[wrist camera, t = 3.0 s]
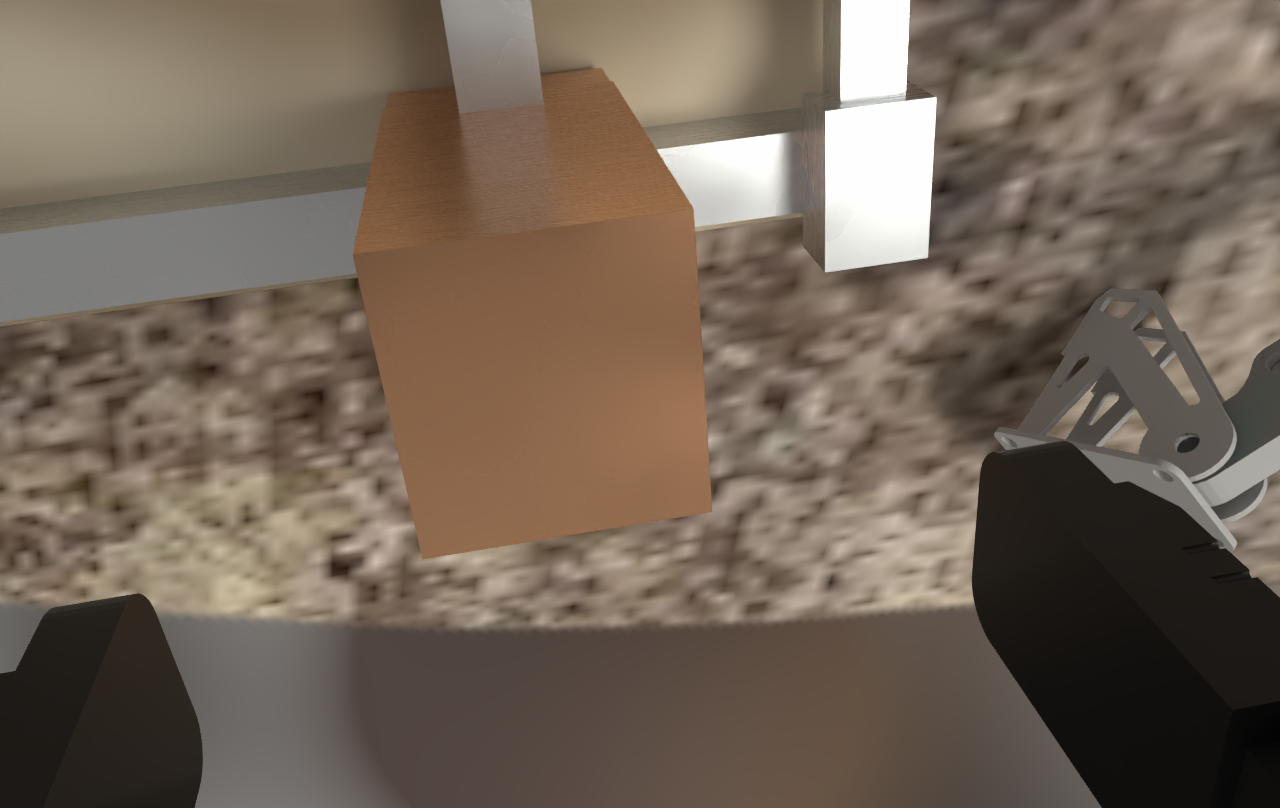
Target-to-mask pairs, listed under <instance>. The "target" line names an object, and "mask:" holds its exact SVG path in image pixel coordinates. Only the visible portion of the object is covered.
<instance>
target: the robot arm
mask: <svg viewBox="0 0 1280 808" xmlns="http://www.w3.org/2000/svg"><path fill="white" fill-rule="evenodd" d="M972 589H973V597H974V602H975V607H976V610H977V614H978V617H979V620H980V623H981V625H982V628H983V630H984V632H985V634H986V636H987V638H988V640H989V641H990V643H991V644H992V646H993V647H994V649H995V650H996V652H997V653H998V655H999V656H1000V658H1001V659H1002V661H1003V662H1004V663H1005V665H1006V667H1007V668H1008V669H1009V671H1010V672H1011V674H1012V675H1013V677H1014V678H1015V680H1016V681H1017V683H1018V684H1019V686H1020V687H1021V688H1022V690H1023V692H1024V693H1025V695H1026V696H1027V698H1028V699H1029V701H1030V702H1031V704H1032V705H1033V706H1034V708H1035V709H1036V711H1037V712H1038V714H1039V715H1040V717H1041V718H1042V720H1043V721H1044V723H1045V724H1046V726H1047V727H1048V728H1049V730H1050V732H1051V733H1052V734H1053V736H1054V737H1055V739H1056V740H1057V742H1058V743H1059V745H1060V746H1061V748H1062V749H1063V751H1064V752H1065V754H1066V755H1067V757H1068V758H1069V760H1070V761H1071V763H1072V764H1073V766H1074V767H1075V769H1076V770H1077V771H1078V773H1079V775H1080V776H1081V777H1082V779H1083V780H1084V782H1085V783H1086V785H1087V786H1088V788H1089V789H1090V791H1091V792H1092V794H1093V795H1094V797H1095V798H1096V799H1097V801H1098V803H1099V804H1100V806H1101V807H1102V808H1280V598H1279V597H1278V596H1277V595H1276V594H1275V593H1274V592H1273V591H1272V590H1271V589H1270V588H1269V587H1267V586H1266V585H1265V584H1264V583H1263V582H1262V581H1261V580H1260V579H1259V578H1258V577H1257V578H1251V576H1250V574H1249V569H1248V568H1247V567H1246V566H1245V565H1243V564H1242V563H1241V562H1240V561H1239V560H1238V559H1237V558H1236V557H1235V556H1234V555H1232V554H1231V553H1230V552H1229V551H1228V550H1227V549H1226V548H1224V549H1220V548H1219V546H1218V541H1217V540H1216V539H1215V538H1214V537H1213V536H1212V535H1211V534H1210V533H1208V532H1207V531H1206V530H1205V529H1204V528H1203V527H1202V526H1201V525H1200V524H1199V523H1198V522H1196V521H1195V520H1194V519H1193V518H1192V517H1191V516H1190V515H1189V514H1188V513H1187V512H1186V511H1184V510H1183V509H1182V508H1181V507H1180V506H1178V505H1176V504H1174V503H1172V502H1170V501H1168V500H1166V499H1164V498H1162V497H1160V496H1158V495H1156V494H1154V493H1152V492H1150V491H1148V490H1146V489H1144V488H1142V487H1140V486H1138V485H1135V484H1133V483H1131V482H1129V481H1126V482H1120V483H1113V482H1112V481H1111V480H1110V479H1109V478H1108V477H1107V476H1106V475H1105V474H1104V473H1103V472H1102V471H1101V470H1100V469H1099V468H1098V467H1097V466H1096V465H1095V464H1094V463H1093V462H1092V461H1090V460H1089V459H1088V458H1087V457H1086V456H1085V455H1084V454H1083V453H1082V452H1081V451H1080V450H1079V449H1078V448H1077V447H1076V446H1075V445H1073V444H1072V443H1070V442H1068V441H1057V442H1051V443H1045V444H1039V445H1034V446H1028V447H1022V448H1016V449H1010V450H1004V451H998V452H992V453H990V454H988V455H987V456H986V458H985V459H984V461H983V463H982V467H981V472H980V482H979V495H978V507H977V520H976V532H975V545H974V557H973V570H972ZM202 755H203V753H202V740H201V733H200V728H199V723H198V719H197V716H196V713H195V710H194V708H193V705H192V703H191V700H190V698H189V695H188V693H187V690H186V688H185V685H184V682H183V680H182V678H181V675H180V672H179V670H178V667H177V665H176V662H175V660H174V657H173V655H172V652H171V650H170V647H169V645H168V642H167V640H166V638H165V635H164V632H163V630H162V627H161V625H160V622H159V619H158V617H157V614H156V612H155V610H154V608H153V606H152V604H151V603H150V601H149V600H148V599H147V598H146V597H145V596H143V595H142V594H132V595H126V596H120V597H114V598H108V599H102V600H96V601H90V602H84V603H78V604H72V605H66V606H61V607H55V608H52V609H50V610H49V611H48V612H47V613H46V614H45V615H44V616H43V618H42V620H41V621H40V623H39V626H38V627H37V629H36V631H35V633H34V635H33V637H32V639H31V641H30V643H29V645H28V647H27V649H26V651H25V653H24V655H23V657H22V659H21V661H20V663H19V665H18V667H17V669H16V671H13V672H7V673H1V674H0V808H195V803H196V800H197V795H198V792H199V787H200V783H201V777H202V765H203V756H202Z"/></svg>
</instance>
